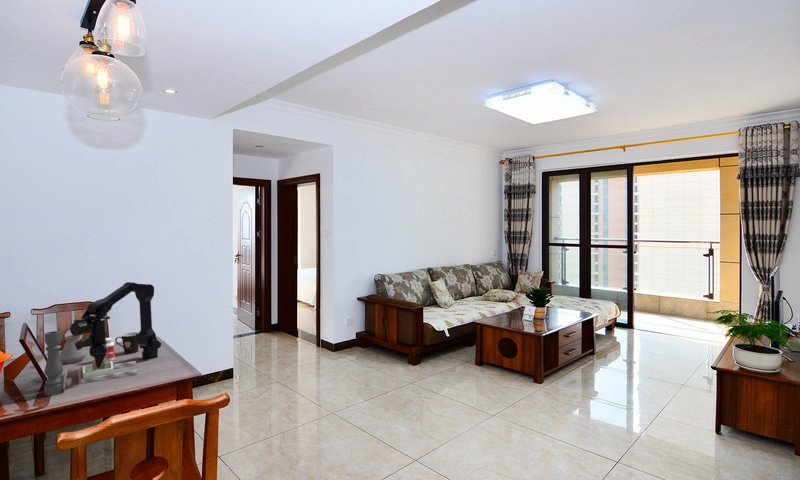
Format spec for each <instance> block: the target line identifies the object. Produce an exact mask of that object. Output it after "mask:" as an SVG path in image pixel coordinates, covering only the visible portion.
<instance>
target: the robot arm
mask: <svg viewBox="0 0 800 480" xmlns="http://www.w3.org/2000/svg"><path fill="white" fill-rule="evenodd" d="M130 293H135V297H136V299H137V300H138V303H139V321H140V323H139V324H140V330H139V334H136V338H137V339H136V342H137V343H138V345H139V349H142V351H141V360H143V361H144V360H154V359H156V358H158V357H159V356H158V355H159V353H158V352H159V351H158V350H159V349H160V348H161V347H162V343H161V342H160V341H159V340H158V339H157V334H156V332H155V331H154V328H153V321H152V319H153V318H152V317H153V316H152V299H153V298H154V295H155V287H154V285H153V284H150V283H149V284H148V283H136V282H132V281H131V282H130V281H128V282H127V281H126V282H125V283H123V285H121V286H120V287H118V288H117V289H115V290H114V291H113V292H110V294H109V295H107V296H105V297H103V298H101V299H97V300H95V301H92V302H91V303H89V304H88V305H87V308H86V309H85V311H84V313H83V314H82V316H81V318H80V319H74V320H73V323H71V324H70V327H69V330H70V331H69V332H70V333H71V334H70V335H74V336H78V335H82V334H83V335H85V334H89V335H88V336H85V337H83V338H79V340H78V341H76V342H74V345H75V347H76V349H77V350H80V349H81V348H83V347H84V348H85V347H88V346H89V353H88V354H89V356H90V357H93V358H94V359H93V360H95V362H96V366H97V368H99V367H100V366H101V364H102V361H103V359H104V357H105V355H106V353H107V346H106V338H107V337H106V336H107V335H106V331H107V330H106V329H107V328H106V325H107V324H106V320H110V319H111V317H110V316H108V315H107V314H108V313H109V312H110V311H111V310H112V307H113V306H114V305H115V304H117V303H118V302H119V301H120V300H121V301H122V299H123V298H125V297H126V296H128V295H129V294H130ZM83 335H82V336H83ZM103 344H105V345H103Z"/></svg>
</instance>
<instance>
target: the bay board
mask: <svg viewBox="0 0 800 480" xmlns="http://www.w3.org/2000/svg"><path fill="white" fill-rule="evenodd" d="M134 366H135V367H136V366H137V360H134V361H128V362H121V363H115V364H114V363H113V369H114V370H115V369H120V368H121V369H122V368H128V367H129V368H130V367H134ZM139 372H140V370H139V369H134V370H128V371H121V372H116V373H115V372H114V374H109V375H103V376H96V377H90V378H84V379H83V366H81V367H79V368H78V385H82V384H83V385H84V384H89V383H90V384H91V383H96V382H100V381H106V380H112V379H118V378H124V377H125V378H126V377H131V376H136V375H139V374H140V373H139Z"/></svg>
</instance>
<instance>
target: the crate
mask: <svg viewBox="0 0 800 480" xmlns="http://www.w3.org/2000/svg"><path fill="white" fill-rule="evenodd" d="M113 361H114V360H112V361H107V362H105V369H102V370H96V371H92V363H91V364H86V365H85V364H84V365H83V366H82V369H83V374H82V379H84V378H90V377H96V376H103V375H109V374H115V371H114V370H115V369H113V365H114V363H113Z"/></svg>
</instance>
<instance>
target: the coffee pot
mask: <svg viewBox="0 0 800 480" xmlns="http://www.w3.org/2000/svg"><path fill="white" fill-rule="evenodd" d="M83 335H84V334H82V335H78V336H74V335H72V334H70V335H66V336H65V337H64V339H65V343H64V346H62V347H63V348H61V349H62V350H61V351H60V359H61V363H63V364H74V363H80V362H82V361H83V359H85V358H86V357H87V355H88V353H87V350H86V349H85V347H83V348H81V349H80V350H77V349H76V347H75V345H74V342H76V341H78V340H80V339H81V337H83Z"/></svg>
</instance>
